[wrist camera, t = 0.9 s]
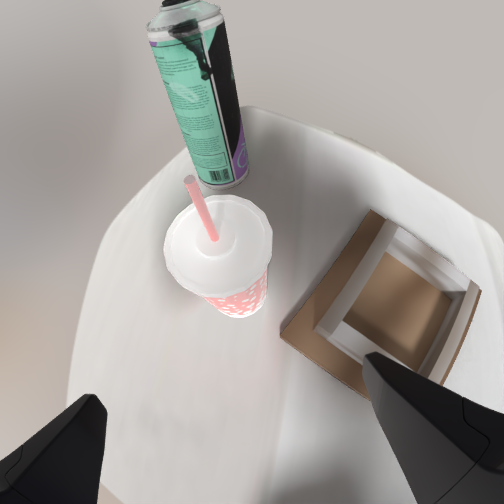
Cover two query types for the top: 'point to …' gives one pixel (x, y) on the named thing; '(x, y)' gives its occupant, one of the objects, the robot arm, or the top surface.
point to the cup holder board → (385, 307)
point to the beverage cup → (221, 251)
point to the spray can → (201, 88)
